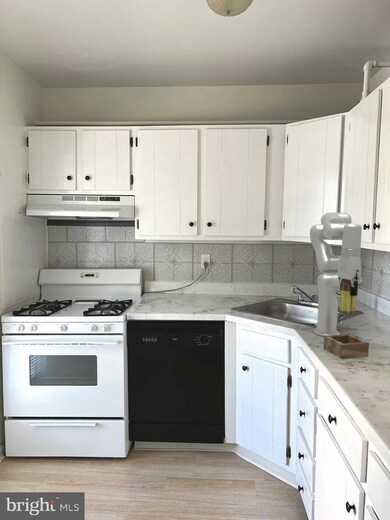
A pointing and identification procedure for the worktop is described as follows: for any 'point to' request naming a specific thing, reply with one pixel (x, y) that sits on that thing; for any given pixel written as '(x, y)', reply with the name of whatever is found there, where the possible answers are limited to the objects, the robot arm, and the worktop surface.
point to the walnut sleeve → (346, 346)
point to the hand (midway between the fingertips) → (348, 293)
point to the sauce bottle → (347, 298)
